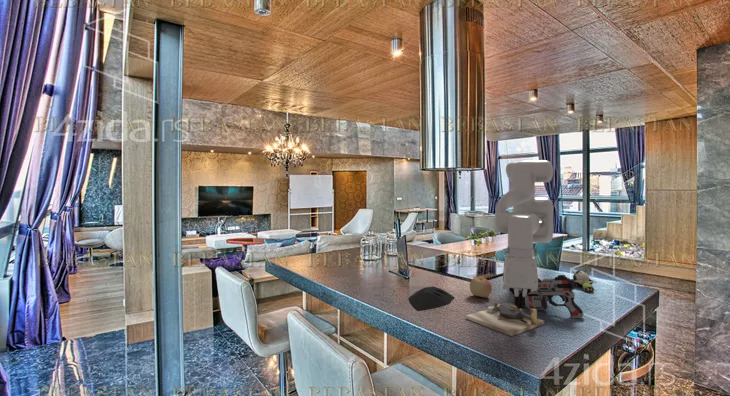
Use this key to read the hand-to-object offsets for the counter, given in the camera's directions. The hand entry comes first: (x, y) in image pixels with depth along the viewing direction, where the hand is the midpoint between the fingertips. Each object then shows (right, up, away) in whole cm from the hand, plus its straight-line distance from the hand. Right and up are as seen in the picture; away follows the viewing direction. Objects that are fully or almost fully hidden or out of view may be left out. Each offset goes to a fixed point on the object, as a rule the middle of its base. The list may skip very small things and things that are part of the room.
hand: (519, 307), depth 117 cm
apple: (-2, -6, +34) cm, 34 cm away
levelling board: (-3, -7, +6) cm, 9 cm away
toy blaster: (+17, -7, +15) cm, 24 cm away
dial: (+2, -5, +5) cm, 8 cm away
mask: (-25, -7, +29) cm, 39 cm away
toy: (+50, -6, +46) cm, 69 cm away
